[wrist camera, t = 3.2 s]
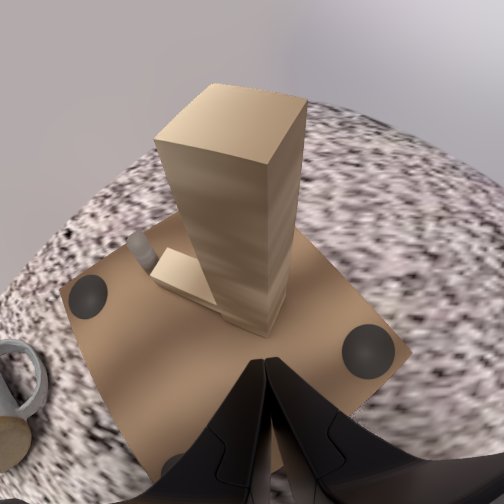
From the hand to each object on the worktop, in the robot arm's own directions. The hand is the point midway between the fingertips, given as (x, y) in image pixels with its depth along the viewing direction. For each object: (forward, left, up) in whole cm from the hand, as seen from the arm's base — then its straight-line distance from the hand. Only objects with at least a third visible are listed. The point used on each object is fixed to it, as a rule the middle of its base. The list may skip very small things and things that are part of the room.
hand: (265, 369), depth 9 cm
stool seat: (+4, 0, -8) cm, 9 cm away
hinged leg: (+6, -1, -6) cm, 9 cm away
